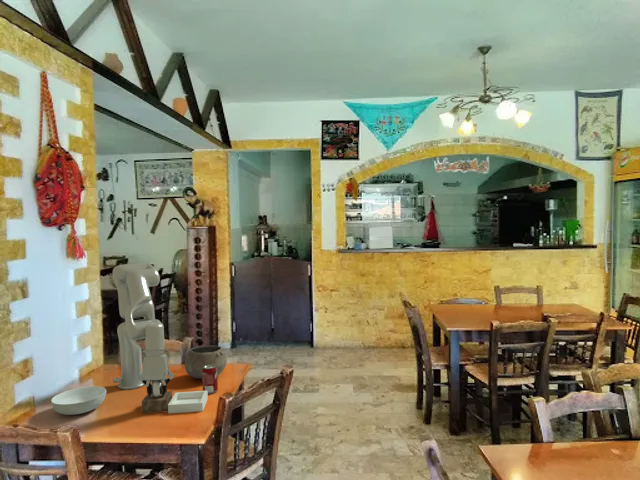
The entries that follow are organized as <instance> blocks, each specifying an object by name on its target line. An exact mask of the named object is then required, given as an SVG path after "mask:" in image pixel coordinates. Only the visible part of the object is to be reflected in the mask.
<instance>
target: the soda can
mask: <svg viewBox="0 0 640 480" xmlns="http://www.w3.org/2000/svg"><path fill="white" fill-rule="evenodd" d="M201 380H202V391H208V395H211V394H214V393H216V392H218V390H219V387H218V384H219V383H218V376H217V368H216V366H215V365H205V366H204V367H203V370H202V379H201Z"/></svg>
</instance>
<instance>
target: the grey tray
mask: <svg viewBox="0 0 640 480" xmlns="http://www.w3.org/2000/svg"><path fill="white" fill-rule="evenodd" d="M208 395H209V394H208V391H203V390H197V391H196V390H195V391H194V390H193V391H183V392H175V393H174V394H173V395H172V399H171V401H170V402H169V404H168V411H167V413H168V414H179V413H194V412H195V413H196V412H203V411H204V409H205V407H206V404H207V402H208V399H209V396H208Z"/></svg>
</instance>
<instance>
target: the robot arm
mask: <svg viewBox="0 0 640 480" xmlns="http://www.w3.org/2000/svg"><path fill="white" fill-rule="evenodd" d="M112 279H113V282H114V284H115V286H116V289H117V294H118V295H117V296H118V297H117V298H118V299H117V300H118V311H119V316H120V318H122V319H123V320H124V322H122V323H120V324H119V325H118V326H117V337H118V342H119V349H120V350H119V353H120V370H121V373H120V374H121V376H120V377H113V378H112V382H113V384H114V383H115V384H116V383H118V385H117V388H118V389H120V390H127V391H128V390H134V389H139V388H142V387H144V386H145V387H146V394H148V396H150V395H151V394H152V380H162V395H165V393H166V392H167V391H168V387H167V386H168V385H167V384H168V383H169V382H170V381H172V379H174V377H175V374H174V373H173V372H172V371H171V370H170V366H169V359H168V355H167V354H166V353H165V352H166V349H165V330H164V329H165V327H164V324H163V323H162V322H161V320H159V319H156V317H155V304H154V302H153V300H152V295H151V291H150V288H151V287H155V286H158V285H159V284H160V281H161V280H160V279H161V277H160V274H159V271H158V269H156V268H155V267H154V266H153V265H152V264H151V263H148V262H141V263H128V264H126V263H125V264H120V265H119V264H118V265H116V266H114V268H113V269H112ZM142 317H143V318H142ZM135 318H142V319H138V320H137V319H136V320H135ZM144 339H145V349H143V350H142V348H141V346H140V344H138V343H137V342H136V341H138V340H144ZM143 354H145V356H144V357H143V356H142V355H143ZM142 357H143V358H142Z"/></svg>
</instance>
